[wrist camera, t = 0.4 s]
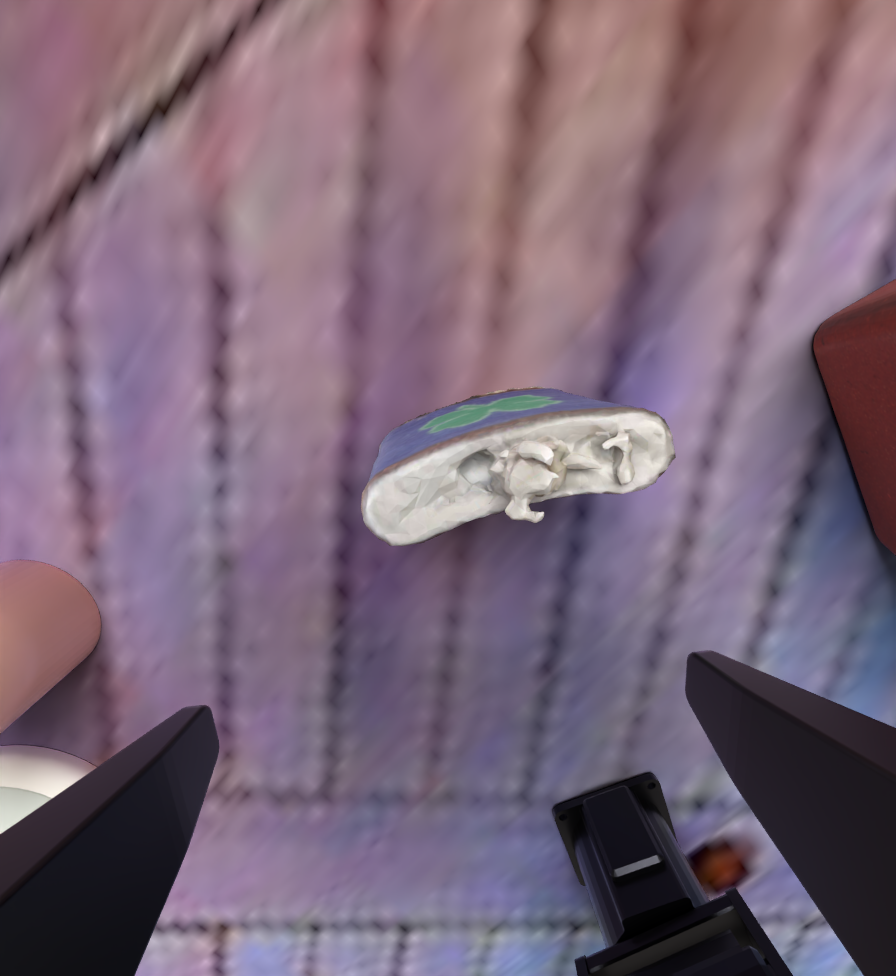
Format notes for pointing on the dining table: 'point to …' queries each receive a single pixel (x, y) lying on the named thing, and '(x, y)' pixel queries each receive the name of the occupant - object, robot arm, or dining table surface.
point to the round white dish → (34, 779)
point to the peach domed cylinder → (40, 632)
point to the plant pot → (866, 397)
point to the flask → (508, 460)
